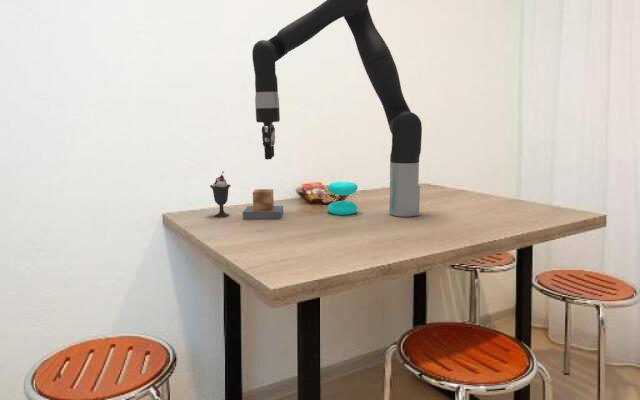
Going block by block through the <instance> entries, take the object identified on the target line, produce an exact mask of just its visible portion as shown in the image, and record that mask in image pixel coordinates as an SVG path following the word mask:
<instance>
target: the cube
mask: <svg viewBox="0 0 640 400" xmlns="http://www.w3.org/2000/svg"><path fill="white" fill-rule="evenodd" d="M252 206H253V211H272V210H273V207H274V206H275V201H274V188H273V189H272V188H267V189H266V188H265V189H263V188H262V189H261V188H259V189H257V188H256V189H254V190H253V191H252Z"/></svg>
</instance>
